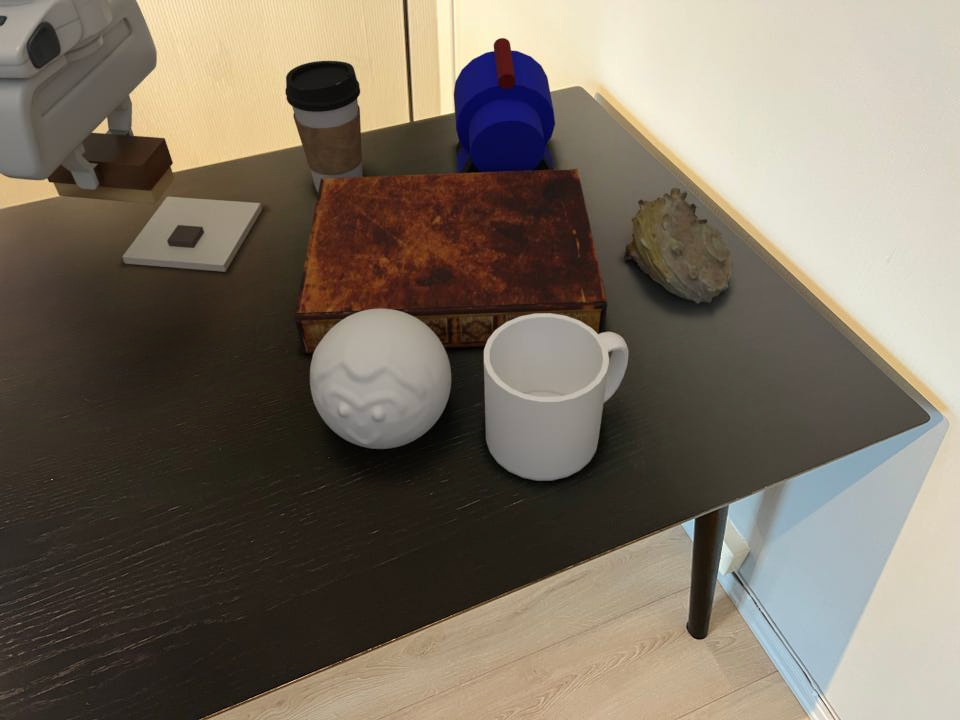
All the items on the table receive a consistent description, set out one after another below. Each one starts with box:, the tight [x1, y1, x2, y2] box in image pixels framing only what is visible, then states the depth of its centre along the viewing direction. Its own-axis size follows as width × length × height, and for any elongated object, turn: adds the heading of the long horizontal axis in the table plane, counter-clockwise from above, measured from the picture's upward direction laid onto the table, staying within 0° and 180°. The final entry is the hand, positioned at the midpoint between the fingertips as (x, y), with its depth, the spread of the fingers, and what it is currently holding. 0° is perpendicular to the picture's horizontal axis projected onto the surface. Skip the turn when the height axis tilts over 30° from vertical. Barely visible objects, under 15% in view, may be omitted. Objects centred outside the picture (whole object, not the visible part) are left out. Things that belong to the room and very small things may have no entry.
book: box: [293, 168, 608, 355], centre depth 85 cm, size 30×24×5 cm
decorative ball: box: [309, 309, 452, 450], centre depth 68 cm, size 12×12×12 cm
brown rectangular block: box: [46, 132, 175, 205], centre depth 69 cm, size 9×4×4 cm, turn 81°
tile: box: [121, 196, 263, 273], centre depth 92 cm, size 12×12×1 cm
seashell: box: [623, 187, 733, 305], centre depth 83 cm, size 11×14×10 cm
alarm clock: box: [453, 37, 556, 173], centre depth 97 cm, size 12×12×15 cm
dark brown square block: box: [167, 225, 204, 248], centre depth 90 cm, size 3×3×1 cm
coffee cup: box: [285, 60, 364, 194], centre depth 94 cm, size 8×8×15 cm
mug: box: [483, 313, 629, 482], centre depth 67 cm, size 13×10×10 cm
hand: (108, 166), depth 69 cm, fingers closed on brown rectangular block, 4 cm apart
